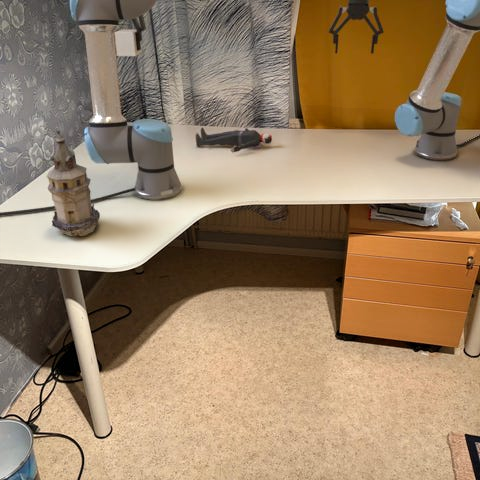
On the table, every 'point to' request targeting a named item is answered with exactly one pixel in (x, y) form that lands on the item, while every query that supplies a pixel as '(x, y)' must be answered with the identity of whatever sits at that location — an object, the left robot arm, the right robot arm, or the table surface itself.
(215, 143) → the toy
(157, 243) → the table surface
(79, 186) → the miniature building
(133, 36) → the brick
